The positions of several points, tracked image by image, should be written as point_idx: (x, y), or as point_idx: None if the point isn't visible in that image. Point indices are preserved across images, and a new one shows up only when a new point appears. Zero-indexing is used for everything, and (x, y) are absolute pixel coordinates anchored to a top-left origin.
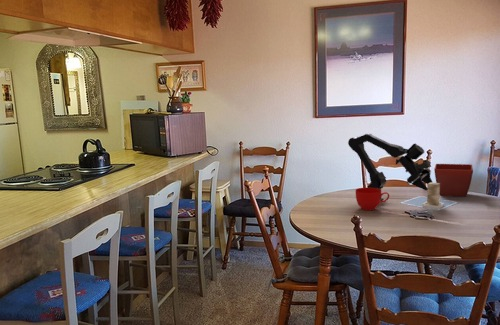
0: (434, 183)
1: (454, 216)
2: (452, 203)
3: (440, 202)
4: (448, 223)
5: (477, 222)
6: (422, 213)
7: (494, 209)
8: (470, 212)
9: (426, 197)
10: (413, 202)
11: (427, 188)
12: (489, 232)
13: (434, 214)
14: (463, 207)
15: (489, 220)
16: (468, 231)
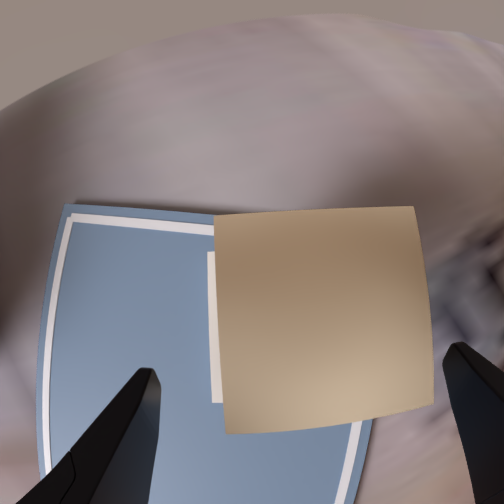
0: (320, 302)
1: (385, 138)
2: (106, 232)
3: (208, 284)
4: (495, 141)
5: (391, 52)
6: (456, 318)
7: (111, 58)
8: (235, 97)
9: (50, 447)
10: (256, 493)
11: (462, 350)
12: (454, 32)
13: (430, 246)
14: (133, 162)
15: (324, 25)
16: (498, 77)
